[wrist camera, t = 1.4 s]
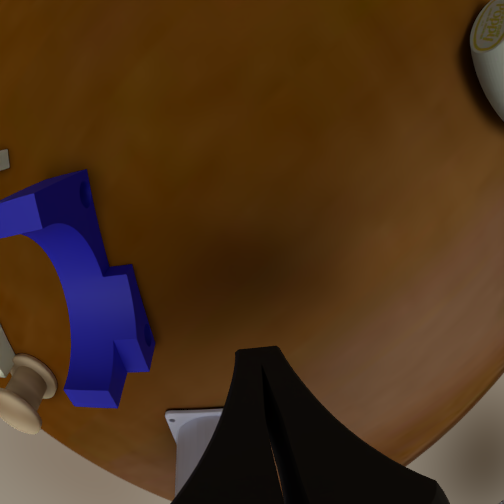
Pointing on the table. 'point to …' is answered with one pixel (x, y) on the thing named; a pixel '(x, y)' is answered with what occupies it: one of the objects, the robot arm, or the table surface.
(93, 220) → the blue curved block
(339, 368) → the table surface
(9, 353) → the notched fence
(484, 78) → the air freshener
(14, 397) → the bobbin
